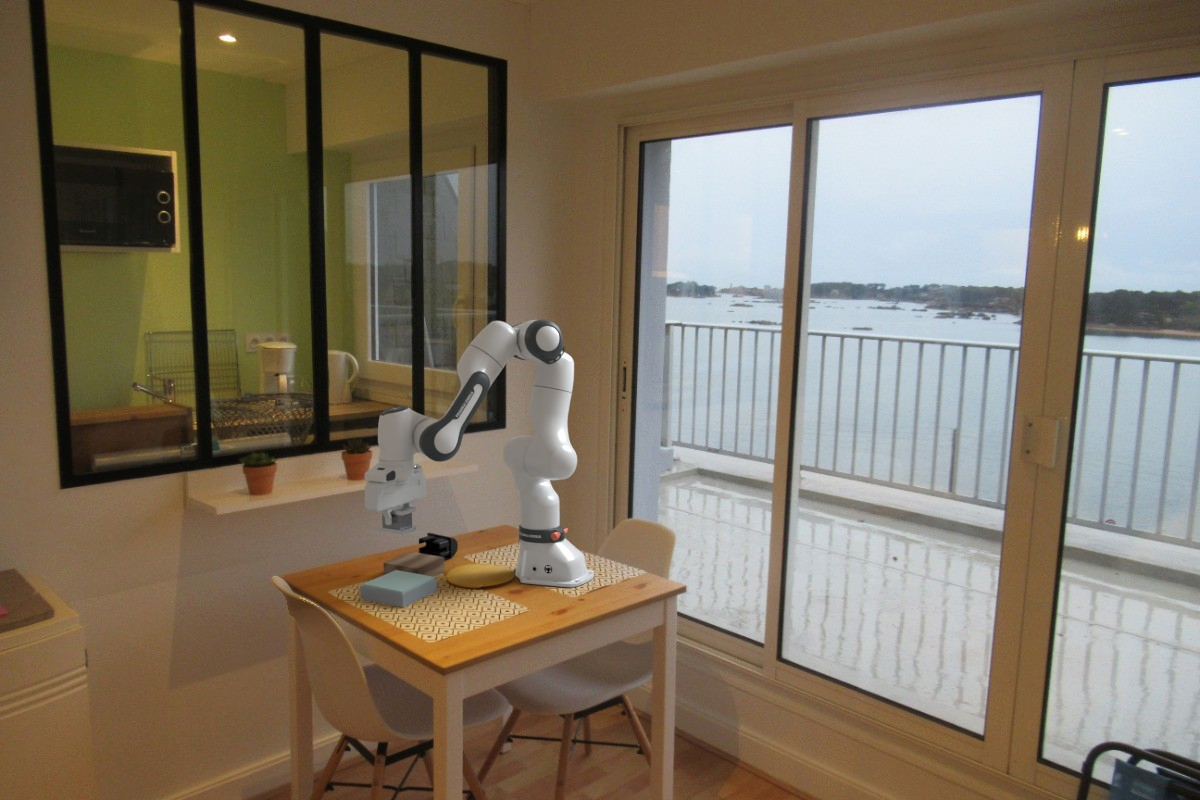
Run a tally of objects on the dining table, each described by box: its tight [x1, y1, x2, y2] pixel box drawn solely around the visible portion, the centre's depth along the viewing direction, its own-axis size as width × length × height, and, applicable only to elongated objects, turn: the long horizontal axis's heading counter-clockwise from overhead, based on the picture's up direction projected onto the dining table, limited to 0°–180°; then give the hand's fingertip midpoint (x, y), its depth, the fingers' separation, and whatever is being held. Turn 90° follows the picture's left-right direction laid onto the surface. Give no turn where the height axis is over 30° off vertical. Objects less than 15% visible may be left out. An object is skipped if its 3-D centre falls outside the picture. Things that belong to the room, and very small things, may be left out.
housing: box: [378, 505, 417, 536], centre depth 221 cm, size 8×5×6 cm, turn 63°
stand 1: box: [383, 551, 446, 577], centre depth 240 cm, size 12×12×4 cm
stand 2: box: [359, 570, 438, 608], centre depth 223 cm, size 14×14×4 cm
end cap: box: [418, 532, 459, 562], centre depth 256 cm, size 10×7×7 cm
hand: (397, 521), depth 221 cm, fingers closed on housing, 5 cm apart
